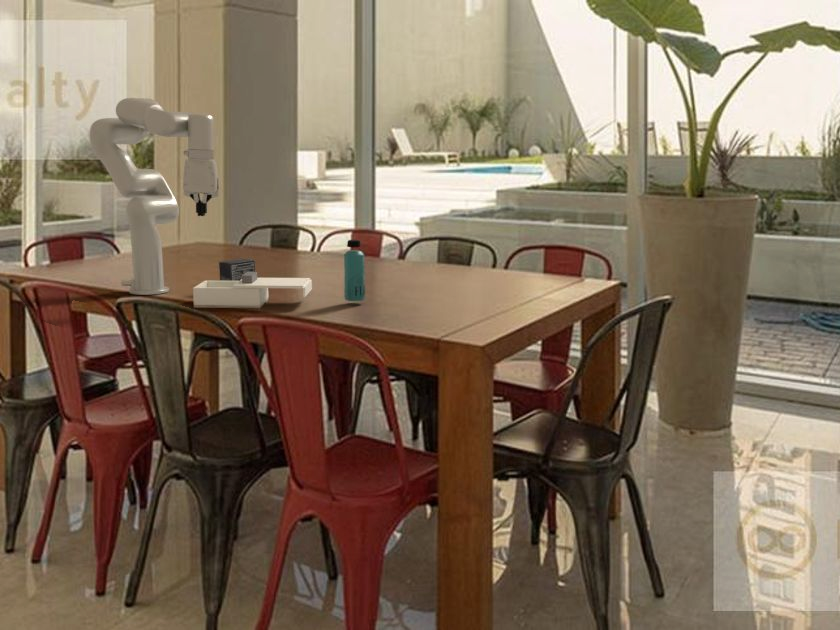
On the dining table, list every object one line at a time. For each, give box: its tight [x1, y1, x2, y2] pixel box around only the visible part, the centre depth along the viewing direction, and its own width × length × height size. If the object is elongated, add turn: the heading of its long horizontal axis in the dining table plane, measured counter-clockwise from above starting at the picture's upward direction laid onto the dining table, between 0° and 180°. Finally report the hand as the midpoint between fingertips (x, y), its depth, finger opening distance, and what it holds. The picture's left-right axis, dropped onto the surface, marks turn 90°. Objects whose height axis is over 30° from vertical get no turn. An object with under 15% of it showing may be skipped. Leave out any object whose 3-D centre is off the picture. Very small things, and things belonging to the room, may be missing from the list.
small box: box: [218, 258, 256, 281], centre depth 297 cm, size 11×6×10 cm, turn 141°
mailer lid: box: [233, 271, 313, 298], centre depth 274 cm, size 22×15×6 cm
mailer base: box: [192, 280, 269, 309], centre depth 275 cm, size 20×14×6 cm
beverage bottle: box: [343, 239, 366, 302], centre depth 274 cm, size 6×7×20 cm
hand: (201, 215), depth 274 cm, fingers closed
